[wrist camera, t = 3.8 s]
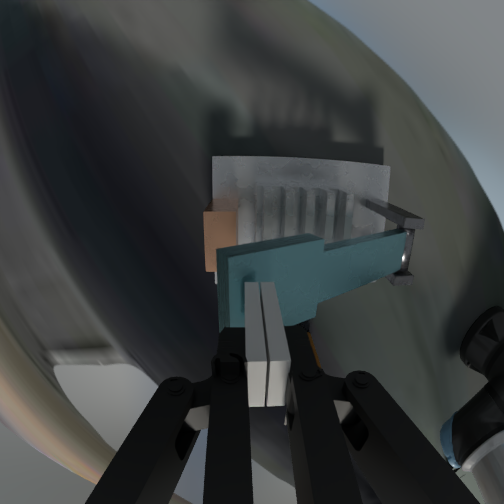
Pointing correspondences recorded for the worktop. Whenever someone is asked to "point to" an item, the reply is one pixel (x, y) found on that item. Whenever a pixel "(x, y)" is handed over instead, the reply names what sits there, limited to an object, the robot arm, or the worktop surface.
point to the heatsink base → (301, 171)
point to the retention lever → (306, 270)
